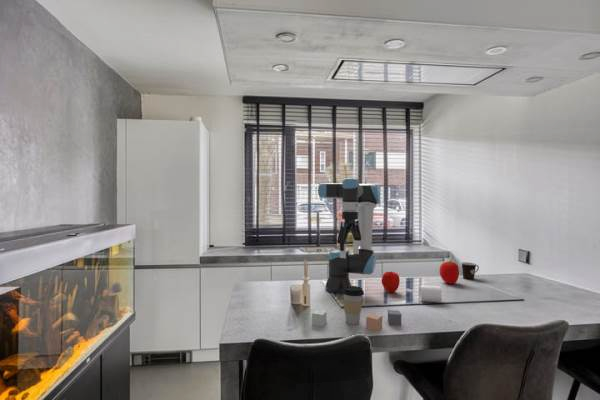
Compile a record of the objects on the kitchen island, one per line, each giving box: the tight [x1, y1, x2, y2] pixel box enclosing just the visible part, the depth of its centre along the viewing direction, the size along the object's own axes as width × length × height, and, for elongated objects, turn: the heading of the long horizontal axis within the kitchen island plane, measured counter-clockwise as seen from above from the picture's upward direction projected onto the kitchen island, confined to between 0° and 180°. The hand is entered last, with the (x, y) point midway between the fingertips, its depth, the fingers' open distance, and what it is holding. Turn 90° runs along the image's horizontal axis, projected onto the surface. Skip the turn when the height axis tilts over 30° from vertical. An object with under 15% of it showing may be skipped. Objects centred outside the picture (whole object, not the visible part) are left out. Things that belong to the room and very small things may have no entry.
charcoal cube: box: [387, 309, 402, 327], centre depth 150 cm, size 5×5×5 cm
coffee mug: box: [461, 262, 480, 281], centre depth 230 cm, size 12×9×10 cm
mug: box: [418, 285, 443, 303], centre depth 183 cm, size 12×10×8 cm
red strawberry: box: [439, 260, 460, 285], centre depth 218 cm, size 13×11×14 cm
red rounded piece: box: [381, 271, 401, 294], centre depth 197 cm, size 10×10×12 cm
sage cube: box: [311, 309, 327, 327], centre depth 149 cm, size 5×5×5 cm
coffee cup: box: [341, 285, 365, 326], centre depth 151 cm, size 9×9×15 cm
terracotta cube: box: [365, 313, 383, 332], centre depth 145 cm, size 5×5×5 cm
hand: (349, 255), depth 163 cm, fingers open, 13 cm apart
